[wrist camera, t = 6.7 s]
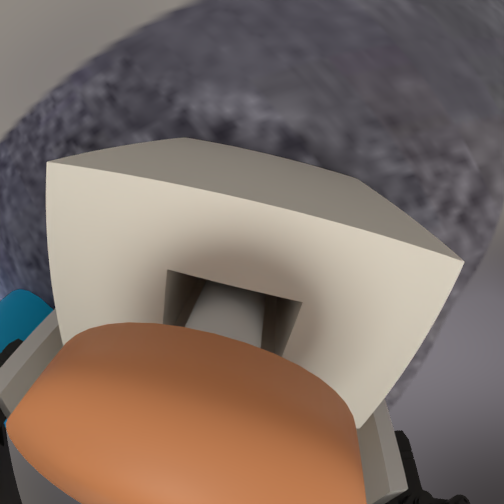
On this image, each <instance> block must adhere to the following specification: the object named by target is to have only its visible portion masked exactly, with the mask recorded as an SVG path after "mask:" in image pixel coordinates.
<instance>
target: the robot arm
mask: <svg viewBox="0 0 504 504" xmlns="http://www.w3.org/2000/svg"><path fill="white" fill-rule="evenodd" d="M62 347H63V343H62V338H61V334H60V329H59V324H58V319H57V314H56V308H55V309H54V310H53V311H52V312H51V313H50V314H49V315H48V316H47V317H46V318H45V319H44V320H43V322H42V323H41V324H40V325H39V326H38V327H37V328H36V329H35V330H34V331H33V332H32V333H31V334H30V335H29V336H28V337H27V338H26V340H25V341H22V340H20V339H19V338H18V339H16V340H14V341H13V342H11V343H9V344H8V345H7V346H6V347H5V348H4V349H3V350H2V353H0V504H22V502H21V499H20V495H19V492H18V488H17V484H16V480H15V476H14V473H13V468H12V463H11V458H10V453H9V447H8V441H7V434H6V427H5V424H4V422H5V420H6V419H7V420H8V418H9V416H10V415H11V414H12V412H13V411H14V409H15V408H16V407H17V405H18V404H19V402H20V401H21V400H22V398H23V397H24V396H25V394H26V393H27V392H28V390H29V389H30V388H31V386H32V385H33V384H34V382H35V381H36V380H37V378H38V377H39V376H40V375H41V373H42V372H43V371H44V369H45V368H46V367H47V366H48V364H49V363H50V362H51V361H52V359H53V358H54V357H55V356H56V354H57V353H58V352H59V351H60V350H61V348H62ZM356 430H357V436H358V443H359V449H360V456H361V463H362V470H363V477H364V485H365V494H366V502H367V504H470V502H469V500H468V499H467V498H466V497H465V496H463V495H456V496H454V497H452V498H451V499H449V500H444V499H437V498H433V497H432V495H431V494H430V493H428V492H427V491H424V490H422V487H421V484H420V480H419V476H418V472H417V468H416V464H415V460H414V459H413V458H414V457H413V453H412V452H411V446H410V443H409V439H408V438H407V437H406V435H405V434H404V433H403V431H394V429H393V426H392V422H391V419H390V415H389V411H388V408H387V405H386V401H385V398H384V399H383V401H382V402H381V403H380V404H379V406H378V407H377V408H376V409H375V411H374V412H373V413H372V414H371V416H370V417H369V418H368V419H367V421H366V422H365V423H364V424H363V425H362V427H361V428H356Z"/></svg>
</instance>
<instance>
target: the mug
mask: <svg viewBox="0 0 504 504" xmlns="http://www.w3.org/2000/svg"><path fill="white" fill-rule="evenodd" d="M52 311H53V309H52V308H51V307H50V306H49V305H48V304H47V303H45V302H44V301H43V300H42V299H41V298H40V297H38V296H36V295H35V294H33V293H31V292H30V291H26V290H22V289H18V290H15V291H12V292H11V293H10V294H8V295H7V296H6V297H5V298H4V299H2V300H1V301H0V353H2V350H3V349H4V348H5V347H6V346H7V345H8V344H9V343H11V342H13V341H14V340H16V339H18V338H19V339H20V340H22V341H25V340H26V338H27V337H28V336H29V335H30V334H31V333H32V332H33V331H34V330H35V329H36V328H37V327H38V326H39V325H40V324H41V323H42V322H43V320H44V319H45V318H46V317H47V316H48V315H49V314H50V313H51V312H52ZM6 422H7V419H6V420H5V422H4V424H5V427H6Z"/></svg>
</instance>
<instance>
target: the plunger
mask: <svg viewBox="0 0 504 504" xmlns="http://www.w3.org/2000/svg"><path fill="white" fill-rule="evenodd" d="M265 299H266V294H265V293H260V292H256V291H252V290H248V289H243V288H239V287H235V286H231V285H227V284H223V283H219V282H215V281H211V280H206V282H205V284H204V286H203V288H202V291H201V293H200V295H199V297H198V299H197V301H196V304H195V306H194V308H193V310H192V312H191V314H190V317H189V319H188V321H187V323H186V325H185V327H181V326H173V325H165V324H158V323H136V322H126V323H115V324H106V325H102V326H97V327H93V328H89V329H87V330H85V331H83V332H81V333H79V334H77V335H75V336H74V337H73V338H71V339H70V340H69V341H68V342H66V344H65V345H64V346H63V347H62V348H61V350H60V351H59V352H58V353H57V354H56V356H55V357H54V358H53V359H52V361H51V362H50V363H49V364H48V366H47V367H46V368H45V369H44V371H43V372H42V373H41V375H40V376H39V377H38V378H37V380H36V381H35V382H34V384H33V385H32V386H31V388H30V389H29V390H28V392H27V393H26V394H25V396H24V397H23V398H22V400H21V401H20V402H19V404H18V405H17V407H16V408H15V409H14V411H13V412H12V414H11V415H10V416H9V418H8V420H7V422H6V430H7V432H8V434H9V437H10V439H11V440H12V442H13V443H14V445H15V446H16V448H17V449H18V450H19V452H20V453H21V454H22V455H23V457H25V459H26V460H27V461H28V462H29V463H30V464H31V465H32V466H33V467H34V468H35V469H36V470H37V471H38V472H39V473H41V474H42V475H43V476H44V477H45V478H46V479H48V480H49V481H50V482H51V483H53V484H54V485H55V486H57V487H58V488H59V489H61V490H62V491H64V492H65V493H66V494H68V495H69V496H71V497H72V498H74V499H75V500H77V501H79V502H80V503H82V504H367V502H366V494H365V485H364V477H363V470H362V463H361V456H360V449H359V443H358V436H357V430H356V425H355V421H354V417H353V415H352V413H351V411H350V409H349V407H348V406H347V404H346V402H345V401H344V400H343V399H342V398H341V397H340V396H339V394H338V393H337V392H336V391H335V390H334V389H332V388H331V387H330V386H329V385H328V384H326V383H325V382H324V381H323V380H321V379H320V378H319V377H317V376H315V375H314V374H312V373H311V372H309V371H307V370H306V369H304V368H302V367H301V366H299V365H297V364H295V363H293V362H291V361H289V360H287V359H285V358H283V357H281V356H278V355H276V354H274V353H272V352H269V351H266V350H264V349H261V339H262V329H263V319H264V309H265Z"/></svg>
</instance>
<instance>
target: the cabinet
mask: <svg viewBox="0 0 504 504" xmlns="http://www.w3.org/2000/svg"><path fill="white" fill-rule="evenodd" d="M46 225H47V243H48V255H49V265H50V274H51V282H52V289H53V296H54V302H55V308H56V314H57V319H58V324H59V329H60V334H61V338H62V343H63V346H64V345H65V344H66V342H68V341H69V340H70V339H71V338H73V337H74V336H75V335H77V334H79V333H81V332H83V331H85V330H87V329H89V328H93V327H97V326H102V325H106V324H115V323H126V322H136V323H158V324H165V325H173V326H181V327H185V325H186V323H187V321H188V319H189V317H190V314H191V312H192V310H193V308H194V306H195V304H196V301H197V299H198V297H199V295H200V293H201V291H202V288H203V286H204V284H205V282H206V280H211V281H215V282H219V283H223V284H227V285H231V286H235V287H239V288H243V289H248V290H252V291H256V292H260V293H265V294H266V299H265V309H264V319H263V329H262V339H261V349H264V350H266V351H269V352H272V353H274V354H276V355H278V356H281V357H283V358H285V359H287V360H289V361H291V362H293V363H295V364H297V365H299V366H301V367H302V368H304V369H306V370H307V371H309V372H311V373H312V374H314V375H315V376H317V377H319V378H320V379H321V380H323V381H324V382H325V383H326V384H328V385H329V386H330V387H331V388H332V389H334V390H335V391H336V392H337V393H338V394H339V396H340V397H341V398H342V399H343V400H344V401H345V402H346V404H347V406H348V407H349V409H350V411H351V413H352V415H353V417H354V421H355V425H356V428H361V427H362V425H363V424H364V423H365V422H366V421H367V419H368V418H369V417H370V416H371V414H372V413H373V412H374V411H375V409H376V408H377V407H378V406H379V404H380V403H381V402H382V401H383V399H384V398H385V397H386V395H387V394H388V393H389V391H390V390H391V388H392V387H393V386H394V384H395V383H396V382H397V380H398V379H399V377H400V376H401V374H402V373H403V372H404V370H405V369H406V367H407V366H408V364H409V363H410V361H411V360H412V358H413V357H414V355H415V353H416V352H417V350H418V349H419V347H420V345H421V344H422V342H423V341H424V339H425V337H426V336H427V334H428V332H429V331H430V329H431V327H432V325H433V324H434V322H435V320H436V318H437V316H438V315H439V313H440V311H441V309H442V307H443V305H444V303H445V302H446V300H447V298H448V296H449V294H450V292H451V290H452V288H453V286H454V284H455V282H456V279H457V277H458V275H459V273H460V271H461V269H462V266H463V264H464V261H463V260H462V259H461V258H460V257H459V256H458V255H456V254H455V253H454V252H453V251H452V250H451V249H449V248H448V247H447V246H446V245H445V244H444V243H442V242H441V241H440V240H439V239H438V238H436V237H435V236H434V235H433V234H431V233H430V232H429V231H428V230H426V229H425V228H424V227H423V226H421V225H420V224H419V223H418V222H416V221H415V220H414V219H412V218H411V217H410V216H409V215H407V214H406V213H405V212H403V211H402V210H401V209H399V208H398V207H397V206H395V205H394V204H392V203H391V202H390V201H388V200H387V199H386V198H384V197H383V196H381V195H380V194H379V193H377V192H376V191H374V190H373V189H371V188H370V187H368V186H367V185H366V184H364V183H363V182H361V181H360V180H358V179H357V178H354V177H350V176H347V175H344V174H341V173H337V172H334V171H330V170H327V169H324V168H320V167H316V166H313V165H309V164H305V163H302V162H298V161H294V160H290V159H286V158H282V157H278V156H274V155H270V154H266V153H261V152H257V151H253V150H248V149H244V148H239V147H234V146H229V145H224V144H219V143H214V142H209V141H203V140H197V139H192V138H186V137H183V138H174V139H166V140H158V141H150V142H143V143H137V144H130V145H124V146H118V147H113V148H107V149H102V150H97V151H92V152H87V153H82V154H78V155H73V156H69V157H64V158H60V159H56V160H52V161H48V162H47V169H46Z"/></svg>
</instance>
